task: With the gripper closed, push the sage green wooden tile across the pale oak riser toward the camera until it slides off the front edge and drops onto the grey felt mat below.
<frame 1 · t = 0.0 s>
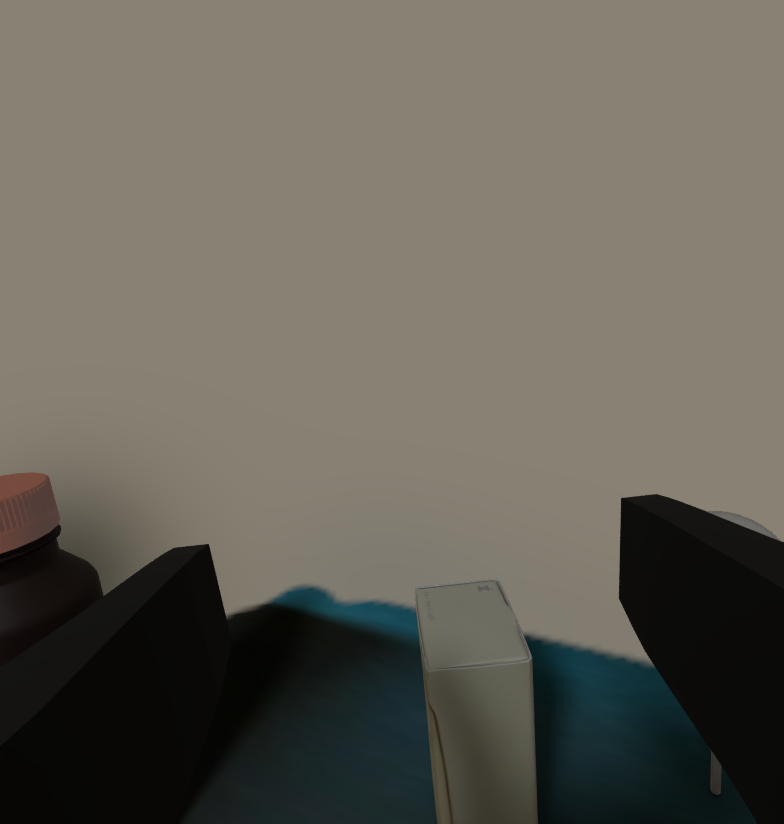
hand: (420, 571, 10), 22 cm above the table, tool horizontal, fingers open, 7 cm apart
lollipop: (715, 794, 28), on the table
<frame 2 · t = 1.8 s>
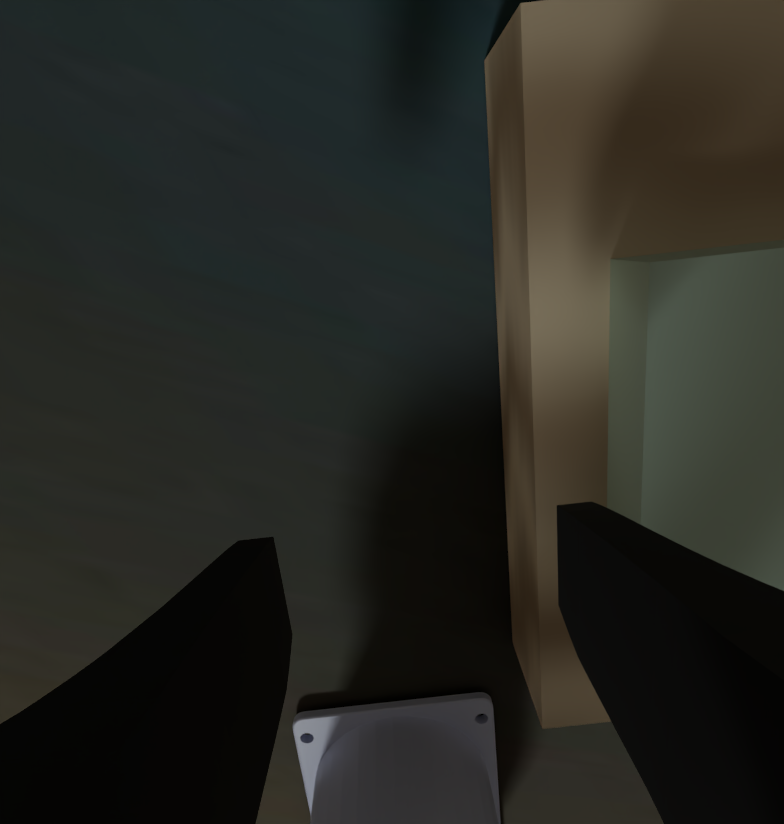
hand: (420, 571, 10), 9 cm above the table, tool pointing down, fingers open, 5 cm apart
riser: (677, 379, 19), on the table
tile: (719, 419, 15), point 4 cm above the table, touching riser
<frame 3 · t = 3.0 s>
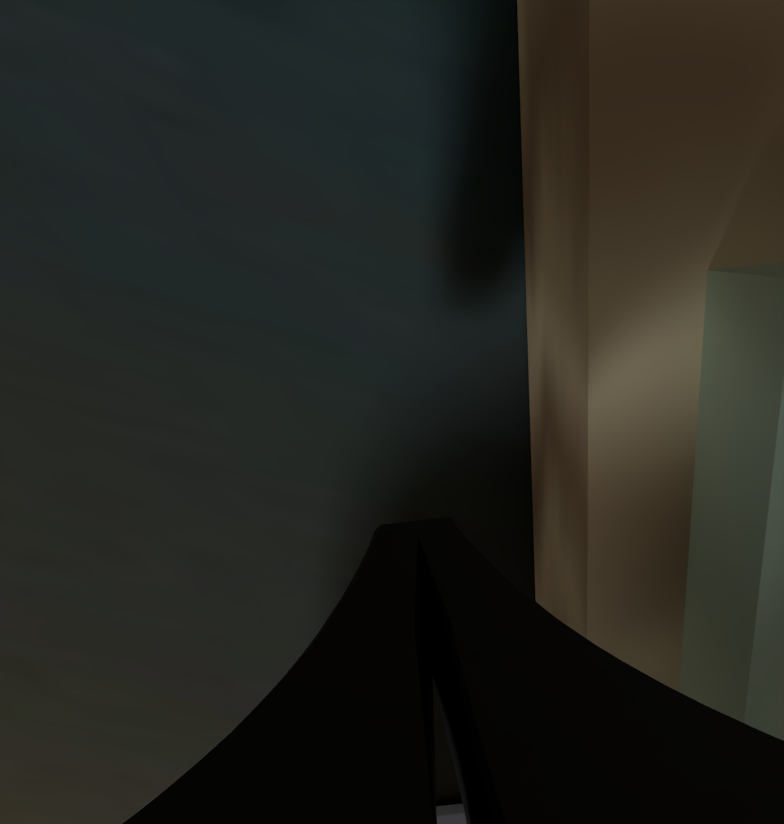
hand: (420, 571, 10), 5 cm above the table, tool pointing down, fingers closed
riser: (759, 421, 14), on the table
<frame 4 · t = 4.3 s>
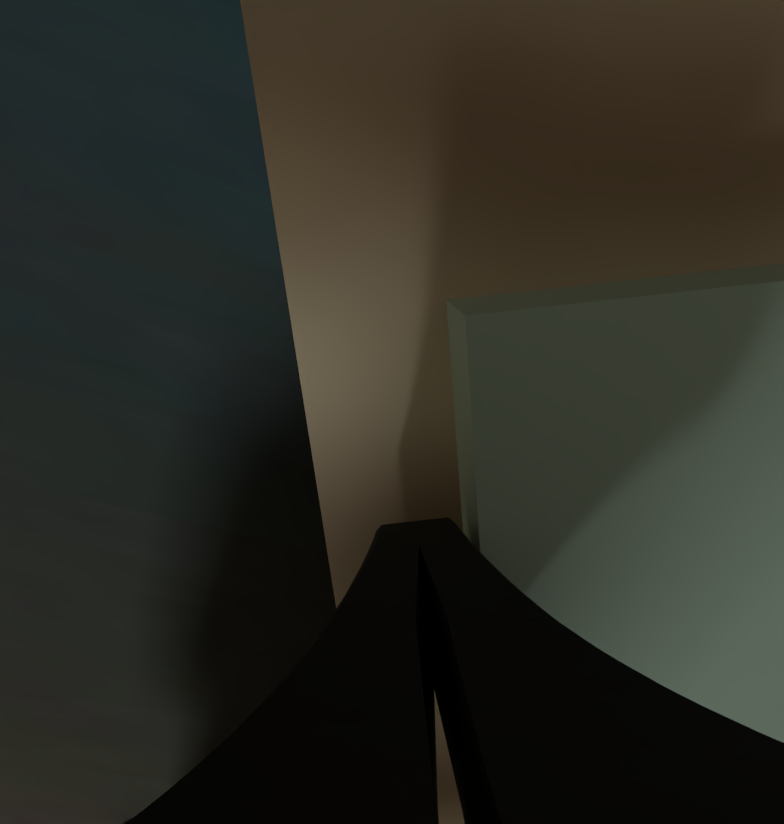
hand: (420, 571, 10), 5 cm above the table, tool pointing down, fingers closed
riser: (567, 444, 14), on the table
tile: (618, 519, 11), point 4 cm above the table, touching gripper, riser
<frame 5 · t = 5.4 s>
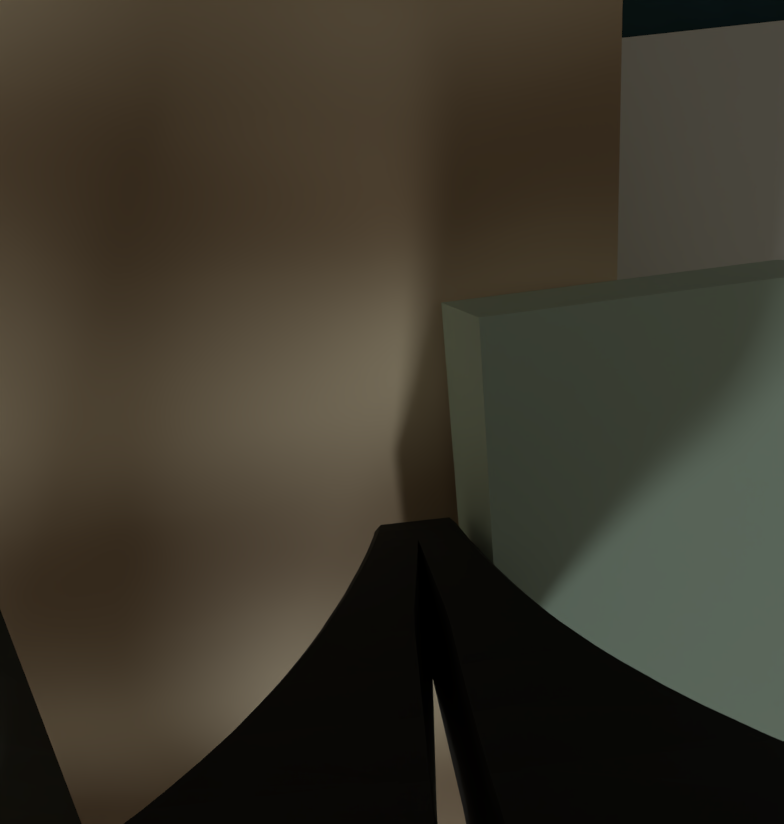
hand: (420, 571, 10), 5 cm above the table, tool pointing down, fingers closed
riser: (321, 470, 14), on the table
tile: (611, 519, 11), point 4 cm above the table, tilted 7°, touching gripper, riser
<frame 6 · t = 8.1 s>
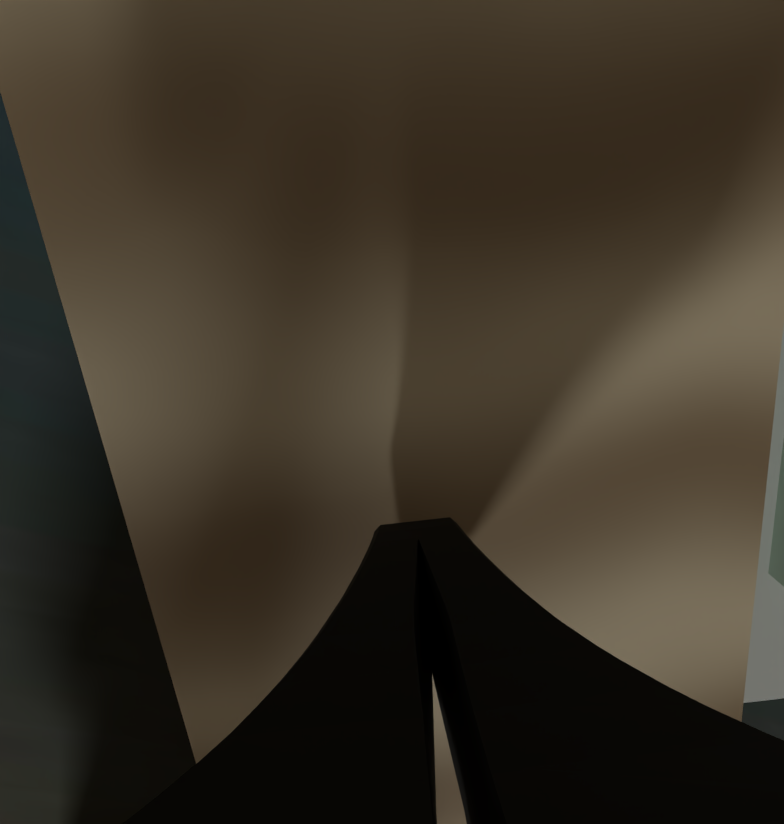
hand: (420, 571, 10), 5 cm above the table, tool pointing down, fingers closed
riser: (431, 456, 14), on the table
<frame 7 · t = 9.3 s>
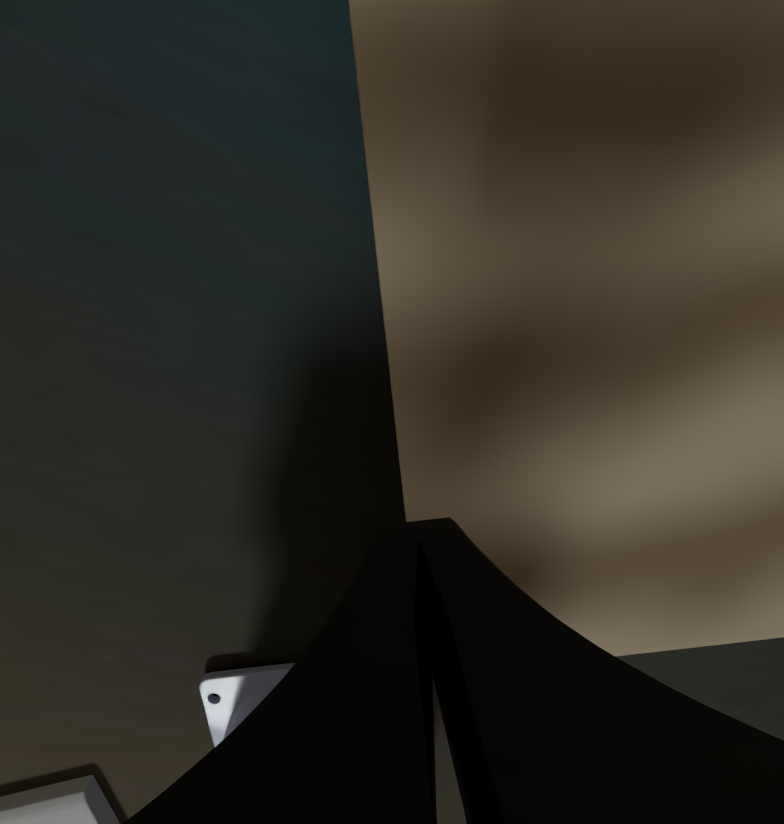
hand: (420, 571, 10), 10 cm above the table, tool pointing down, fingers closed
riser: (560, 337, 19), on the table
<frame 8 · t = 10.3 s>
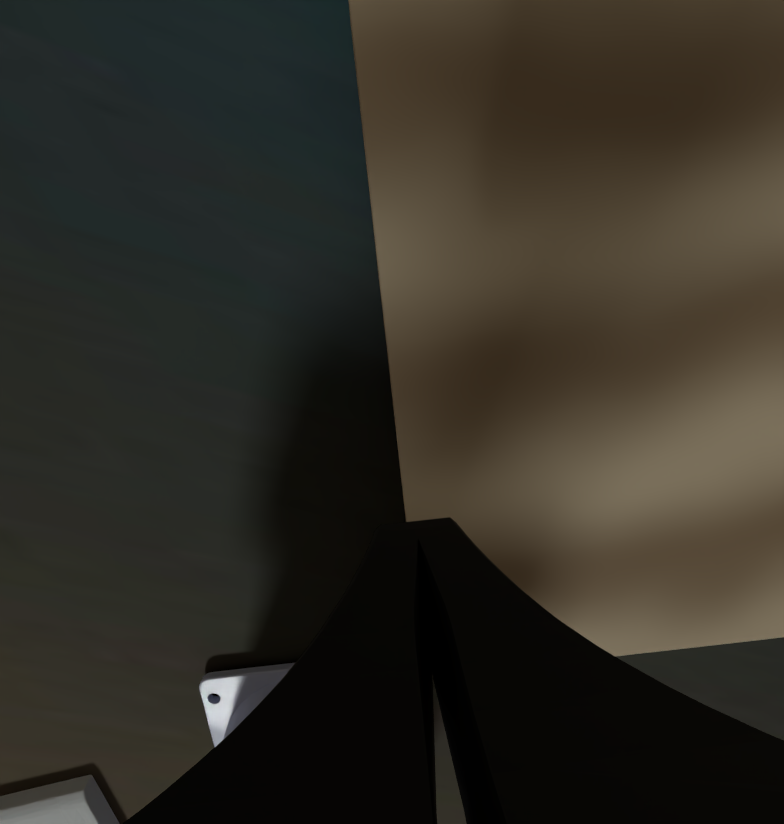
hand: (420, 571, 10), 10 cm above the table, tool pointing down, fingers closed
riser: (560, 337, 19), on the table
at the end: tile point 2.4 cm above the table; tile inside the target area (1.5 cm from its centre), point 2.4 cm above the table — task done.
